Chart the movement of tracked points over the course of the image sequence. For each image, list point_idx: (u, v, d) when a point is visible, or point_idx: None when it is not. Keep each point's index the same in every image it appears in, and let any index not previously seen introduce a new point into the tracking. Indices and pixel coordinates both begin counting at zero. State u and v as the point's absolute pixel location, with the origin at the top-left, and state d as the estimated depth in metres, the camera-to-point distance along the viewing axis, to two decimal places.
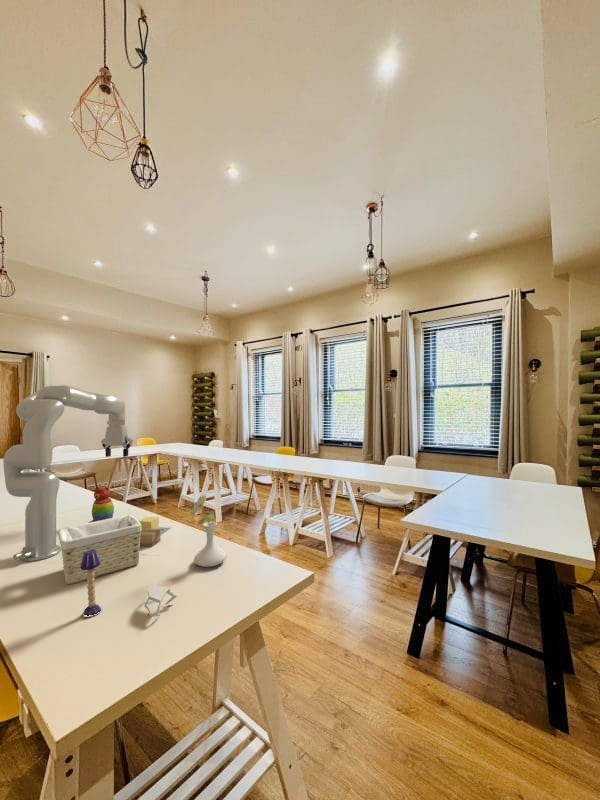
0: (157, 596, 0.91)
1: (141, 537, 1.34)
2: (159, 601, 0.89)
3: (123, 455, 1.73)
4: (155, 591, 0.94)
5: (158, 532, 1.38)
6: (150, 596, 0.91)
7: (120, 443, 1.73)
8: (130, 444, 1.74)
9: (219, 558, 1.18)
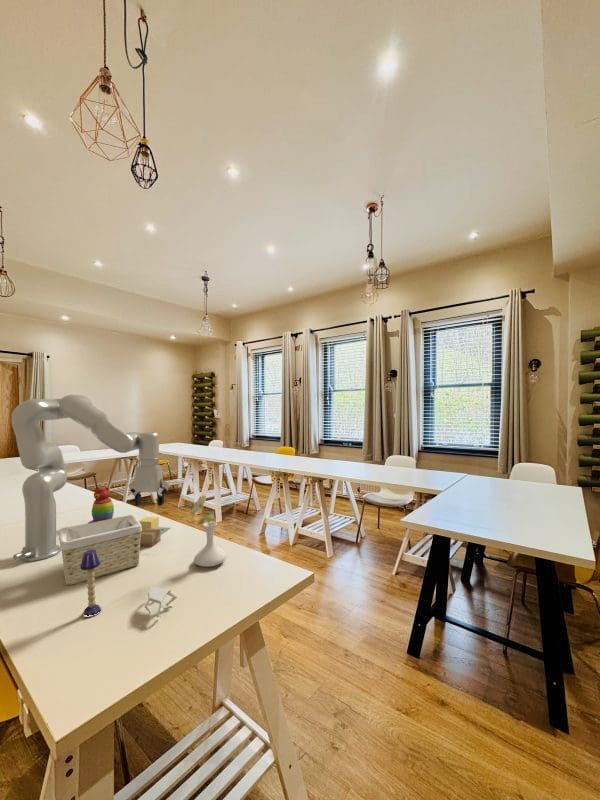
0: (157, 598, 0.90)
1: (141, 537, 1.34)
2: (160, 602, 0.89)
3: (158, 504, 1.35)
4: (155, 592, 0.93)
5: (158, 532, 1.38)
6: (150, 597, 0.91)
7: (154, 489, 1.34)
8: (167, 489, 1.36)
9: (219, 558, 1.18)
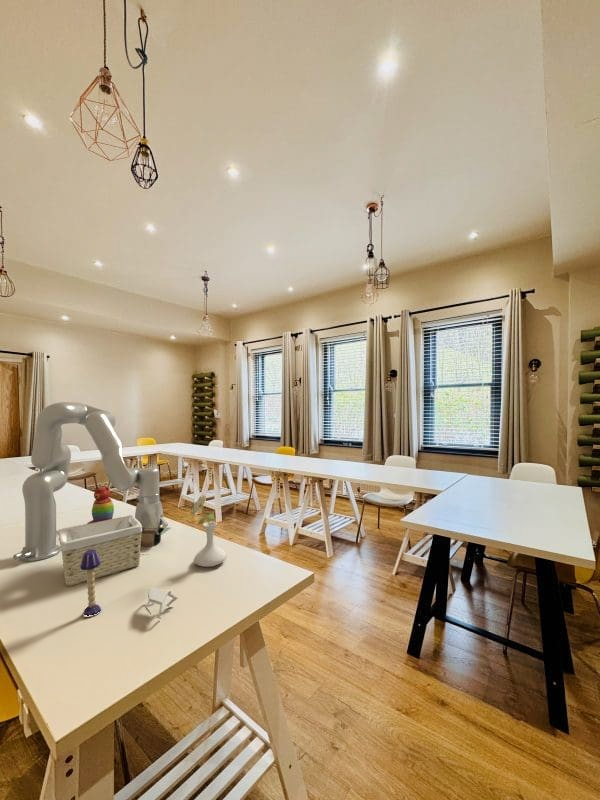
0: (158, 599, 0.90)
1: (141, 537, 1.34)
2: (160, 603, 0.88)
3: (155, 543, 1.35)
4: (156, 593, 0.92)
5: None
6: (151, 598, 0.90)
7: (154, 526, 1.34)
8: (163, 528, 1.36)
9: (219, 558, 1.18)
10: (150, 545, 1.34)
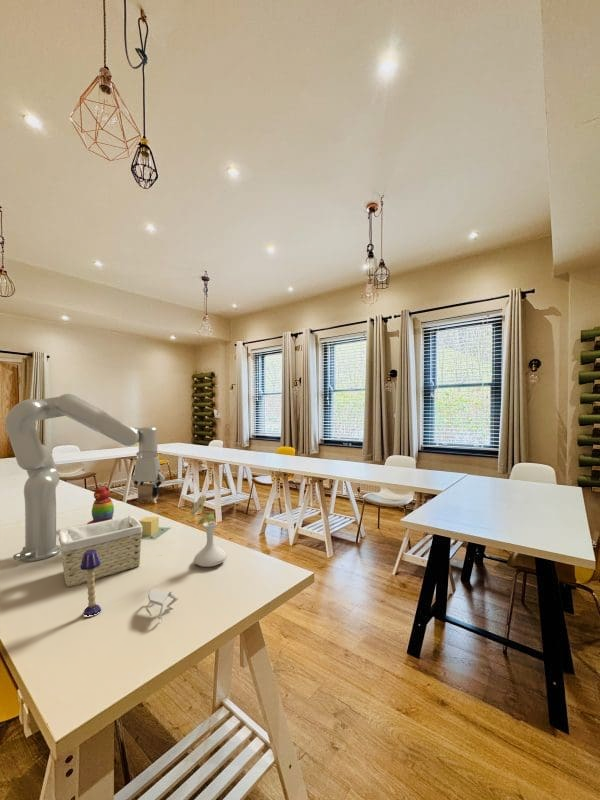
0: (159, 599, 0.89)
1: (140, 489, 1.46)
2: (161, 604, 0.88)
3: (153, 495, 1.47)
4: (156, 594, 0.92)
5: None
6: (151, 599, 0.90)
7: (153, 479, 1.46)
8: (161, 482, 1.48)
9: (219, 558, 1.18)
10: (149, 496, 1.46)
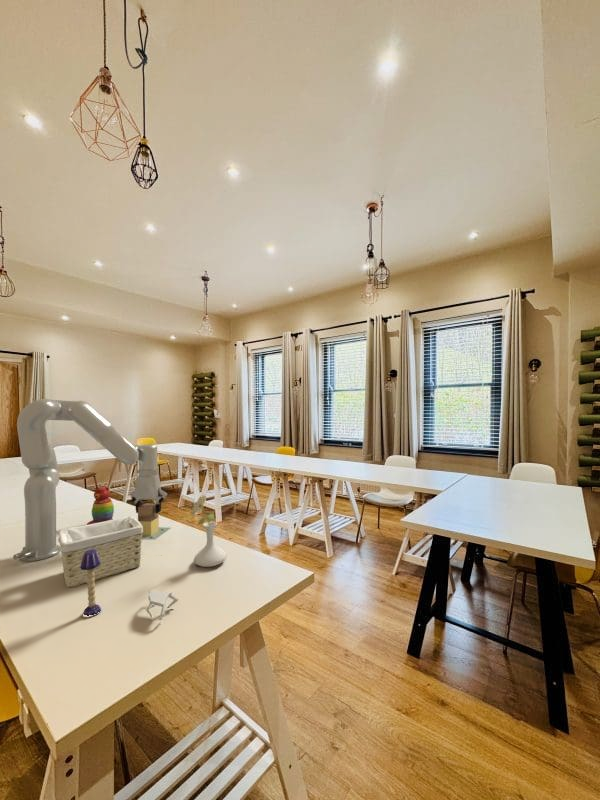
0: (159, 601, 0.89)
1: (140, 510, 1.46)
2: (162, 605, 0.87)
3: (155, 511, 1.47)
4: (156, 595, 0.91)
5: None
6: (152, 600, 0.89)
7: (153, 497, 1.46)
8: (163, 498, 1.48)
9: (219, 558, 1.18)
10: (149, 518, 1.45)
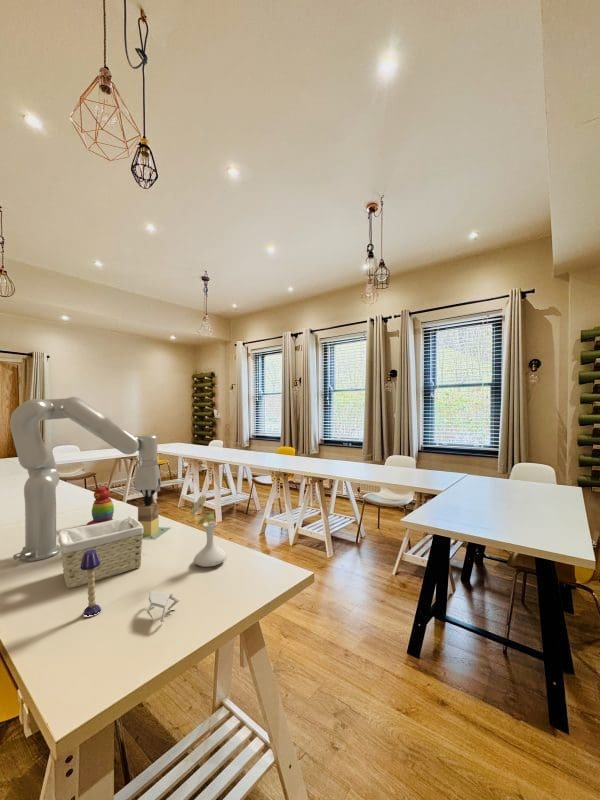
0: (160, 602, 0.88)
1: (140, 510, 1.46)
2: (163, 606, 0.87)
3: (147, 504, 1.47)
4: (157, 596, 0.91)
5: (156, 506, 1.50)
6: (153, 602, 0.88)
7: (153, 487, 1.46)
8: None
9: (219, 558, 1.18)
10: (149, 518, 1.45)
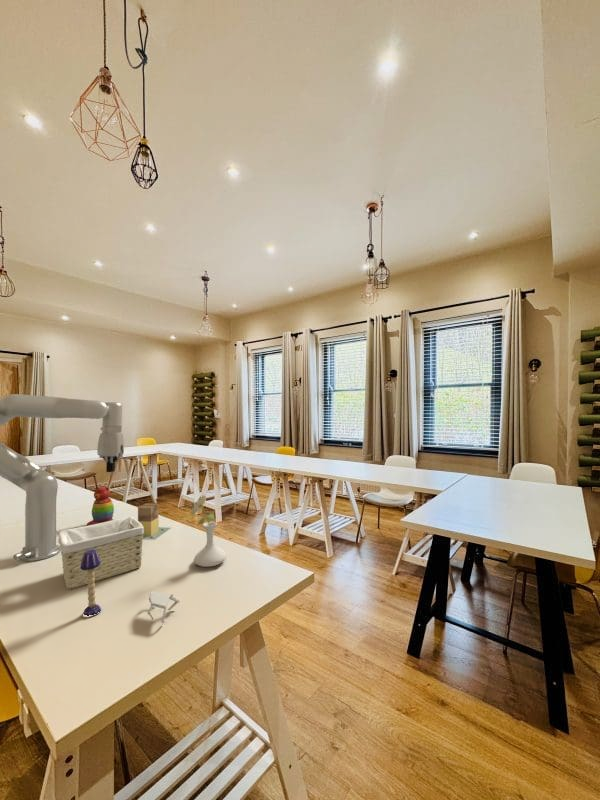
0: (161, 602, 0.88)
1: (140, 510, 1.46)
2: (164, 607, 0.86)
3: (108, 470, 1.47)
4: (157, 597, 0.90)
5: (156, 506, 1.50)
6: (153, 602, 0.88)
7: (114, 453, 1.46)
8: None
9: (219, 558, 1.18)
10: (149, 518, 1.45)
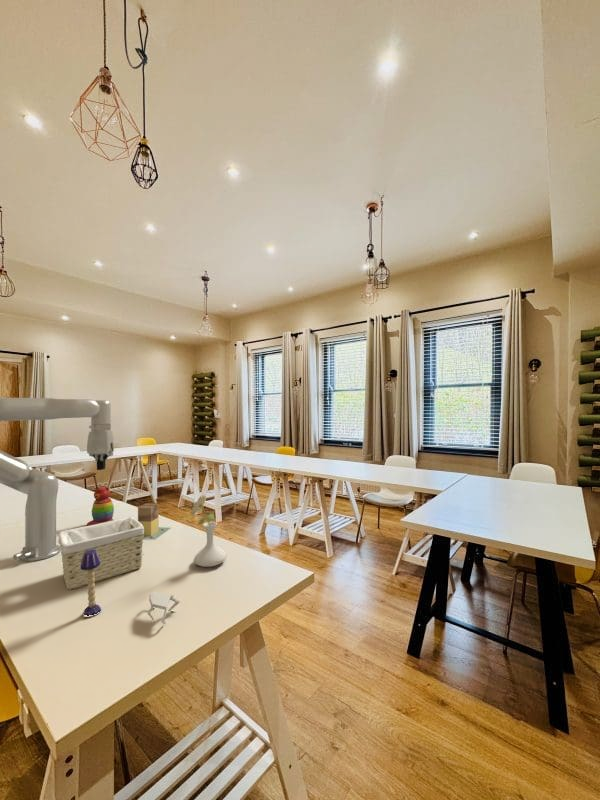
0: (161, 603, 0.88)
1: (140, 510, 1.46)
2: (165, 608, 0.86)
3: (99, 468, 1.48)
4: (158, 598, 0.90)
5: (156, 506, 1.50)
6: (154, 603, 0.88)
7: (104, 451, 1.47)
8: None
9: (219, 558, 1.18)
10: (149, 518, 1.45)
